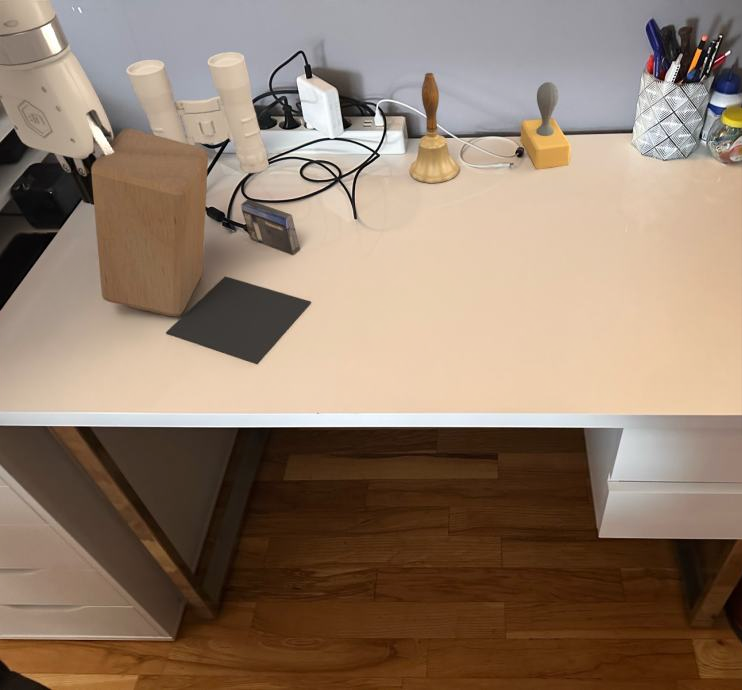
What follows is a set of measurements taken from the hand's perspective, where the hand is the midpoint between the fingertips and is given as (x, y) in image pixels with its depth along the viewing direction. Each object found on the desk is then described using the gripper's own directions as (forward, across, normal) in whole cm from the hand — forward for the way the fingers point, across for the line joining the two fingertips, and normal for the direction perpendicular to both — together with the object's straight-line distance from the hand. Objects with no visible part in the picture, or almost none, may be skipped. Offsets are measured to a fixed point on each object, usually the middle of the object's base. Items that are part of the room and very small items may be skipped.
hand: (99, 197), depth 80 cm
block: (+14, +2, 0) cm, 14 cm away
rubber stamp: (+15, +38, +55) cm, 69 cm away
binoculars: (+15, -11, +30) cm, 35 cm away
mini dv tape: (+15, +10, +16) cm, 24 cm away
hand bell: (+15, +23, +43) cm, 51 cm away
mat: (+15, +15, +1) cm, 21 cm away
